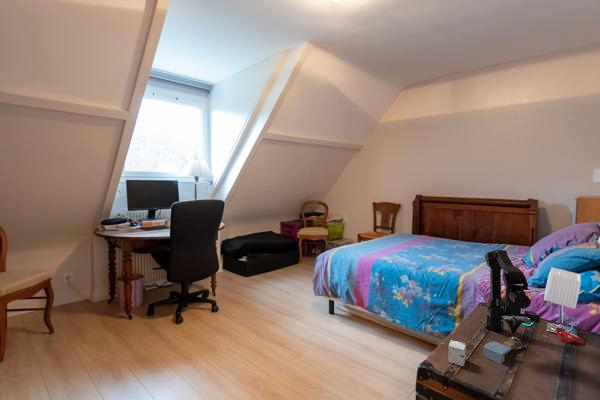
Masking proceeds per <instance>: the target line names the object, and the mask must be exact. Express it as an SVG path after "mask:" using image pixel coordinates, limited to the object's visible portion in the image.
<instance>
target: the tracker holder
mask: <svg viewBox="0 0 600 400" xmlns="http://www.w3.org/2000/svg"><path fill="white" fill-rule="evenodd" d="M559 332H561V334H562V335H561V334H560V333H559ZM555 333H556V335H557V336H558V337H559V339H560V341H562V342H564V343H565V344H567V343H571V342H573V343H577V344H581V345H583V344H584V343H585V342H584V340H583V339H582V338H581V337H580V336H578V335H577V334H574V333H572V332H570V331H566V329H565V328H563V327H561V326H557V327H556V326H555Z"/></svg>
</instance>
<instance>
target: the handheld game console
mask: <svg viewBox="0 0 600 400" xmlns="http://www.w3.org/2000/svg"><path fill="white" fill-rule="evenodd" d="M521 313H523V312H522V311H521ZM511 319H512V317H511ZM512 320H513V319H512ZM523 321H524V322H525V323H522V324H521V325H520V326H522V325H523V326H526V327H528V326H531V325H532V326H533V325H534V323H535V322H532V321H531V320H530V318H523ZM532 326H531V327H532Z"/></svg>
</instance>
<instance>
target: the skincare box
mask: <svg viewBox="0 0 600 400" xmlns="http://www.w3.org/2000/svg"><path fill="white" fill-rule="evenodd" d="M466 351H467V343H465V342H460V341H456V340H452V339H451V340H450V341H449V344H448V355H447V356H448V357H447V358H448V363H451V364H453V363H454V364H453V365H457V366H461V367H464V366H465V363H466V360H467V359H466V358H467V355H466V354H467V352H466Z"/></svg>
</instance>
